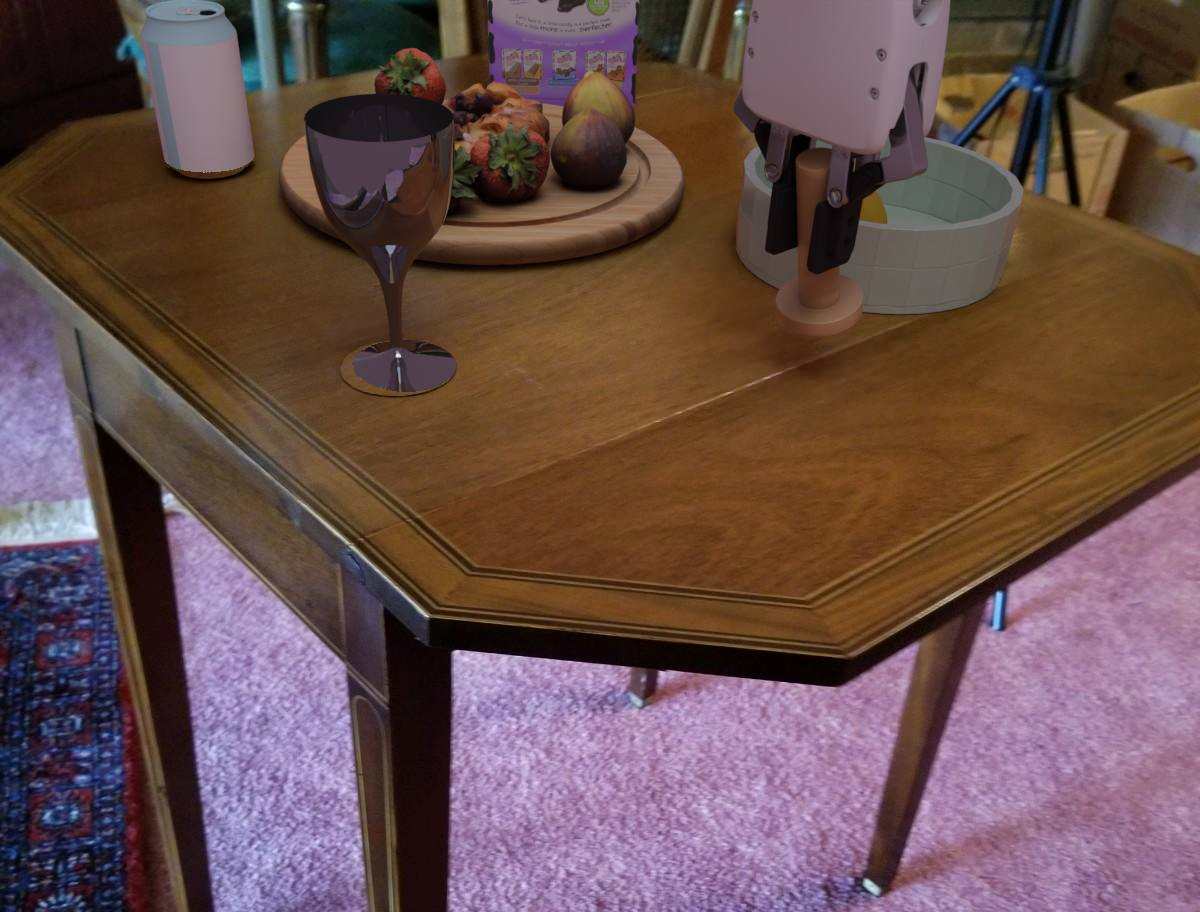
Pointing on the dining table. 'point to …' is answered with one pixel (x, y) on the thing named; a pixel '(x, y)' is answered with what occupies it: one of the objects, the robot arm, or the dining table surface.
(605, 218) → the wooden plate
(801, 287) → the stirrer
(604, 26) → the candy box
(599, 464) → the dining table surface
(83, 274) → the dining table surface
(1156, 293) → the dining table surface
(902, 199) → the bowl
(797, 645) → the dining table surface
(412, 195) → the wine glass
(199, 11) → the can
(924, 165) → the robot arm
